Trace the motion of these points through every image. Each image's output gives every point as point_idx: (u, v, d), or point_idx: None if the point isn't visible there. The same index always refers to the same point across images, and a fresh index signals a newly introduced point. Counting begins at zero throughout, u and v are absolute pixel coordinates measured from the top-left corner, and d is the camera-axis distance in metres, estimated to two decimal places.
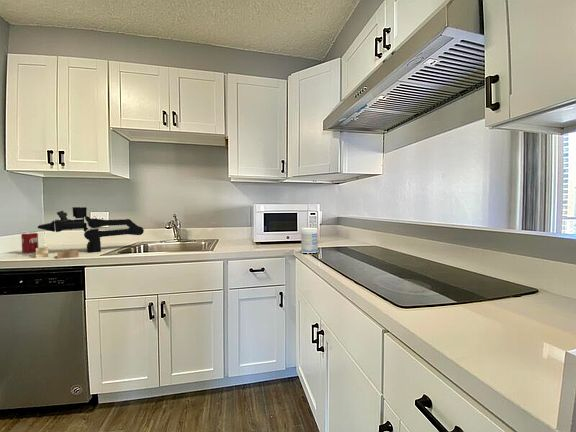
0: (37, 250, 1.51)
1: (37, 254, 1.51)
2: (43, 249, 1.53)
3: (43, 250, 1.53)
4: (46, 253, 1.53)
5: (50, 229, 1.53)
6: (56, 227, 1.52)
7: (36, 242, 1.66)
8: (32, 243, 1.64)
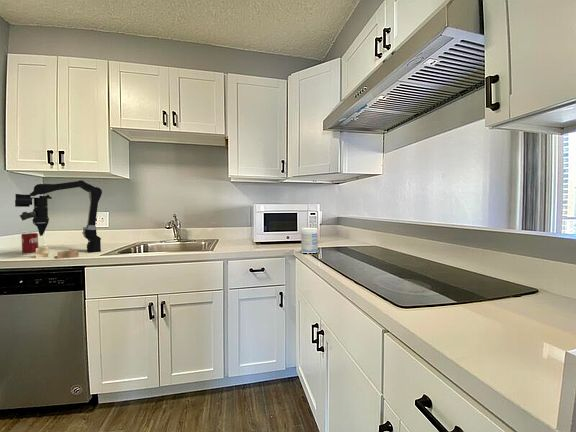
0: (37, 250, 1.51)
1: (37, 254, 1.51)
2: (43, 249, 1.53)
3: (43, 250, 1.53)
4: (46, 253, 1.53)
5: (44, 226, 1.50)
6: (41, 221, 1.47)
7: (36, 242, 1.66)
8: (32, 243, 1.64)
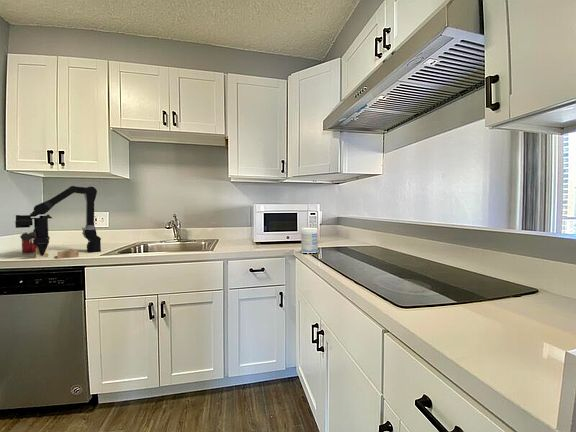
0: (37, 250, 1.51)
1: (37, 254, 1.51)
2: None
3: None
4: (46, 253, 1.53)
5: (45, 246, 1.52)
6: (42, 242, 1.47)
7: None
8: (32, 243, 1.64)
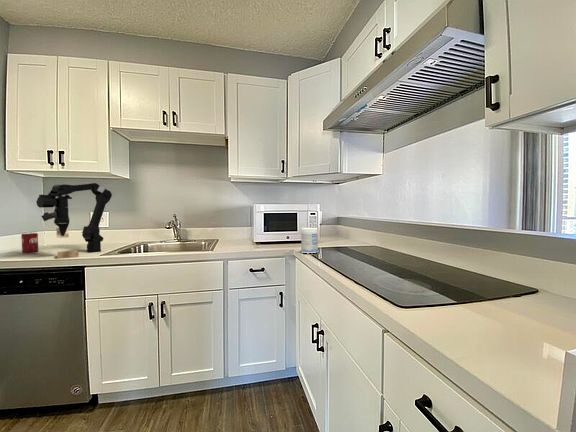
0: (58, 230, 1.51)
1: (58, 234, 1.51)
2: None
3: None
4: (66, 233, 1.53)
5: (66, 226, 1.51)
6: (63, 222, 1.47)
7: (36, 242, 1.66)
8: (32, 243, 1.64)
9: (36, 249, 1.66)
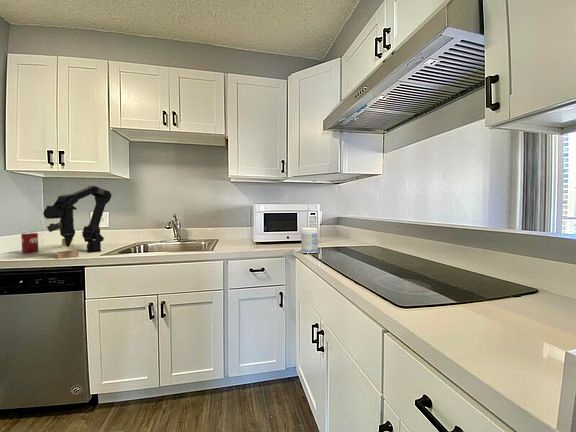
0: (63, 241, 1.51)
1: (63, 245, 1.51)
2: None
3: None
4: (72, 244, 1.53)
5: (71, 237, 1.52)
6: (69, 233, 1.47)
7: (36, 242, 1.66)
8: (32, 243, 1.64)
9: (36, 249, 1.66)
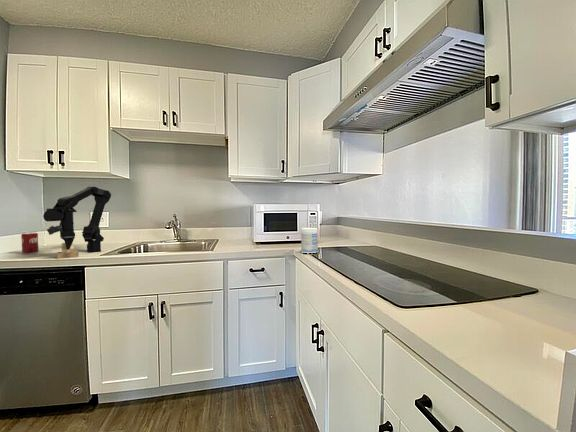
0: (63, 245, 1.51)
1: (63, 249, 1.51)
2: None
3: None
4: (71, 248, 1.53)
5: (71, 240, 1.50)
6: (69, 235, 1.47)
7: (36, 242, 1.66)
8: (32, 243, 1.64)
9: (36, 249, 1.66)
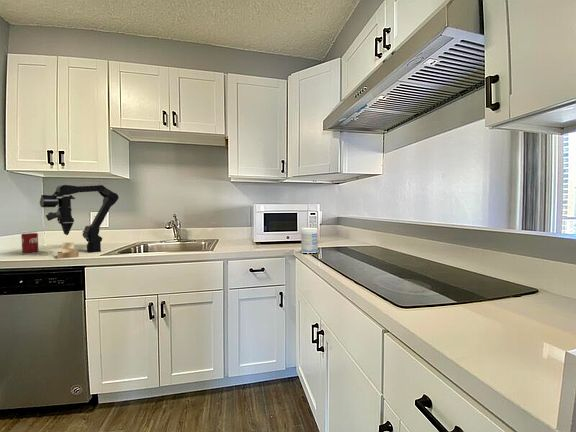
0: (63, 245, 1.51)
1: (63, 249, 1.51)
2: (69, 244, 1.53)
3: (69, 245, 1.53)
4: (72, 248, 1.54)
5: (70, 225, 1.55)
6: (68, 221, 1.52)
7: (36, 242, 1.66)
8: (32, 243, 1.64)
9: (36, 249, 1.66)
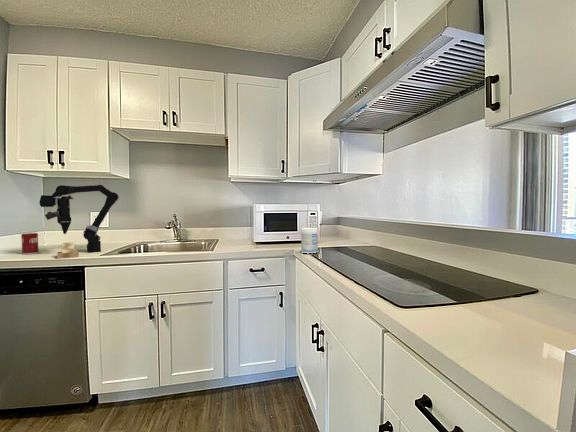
0: (63, 245, 1.51)
1: (63, 249, 1.51)
2: (69, 244, 1.53)
3: (69, 245, 1.53)
4: (72, 248, 1.54)
5: (68, 224, 1.60)
6: (65, 220, 1.57)
7: (36, 242, 1.66)
8: (32, 243, 1.64)
9: (36, 249, 1.66)
